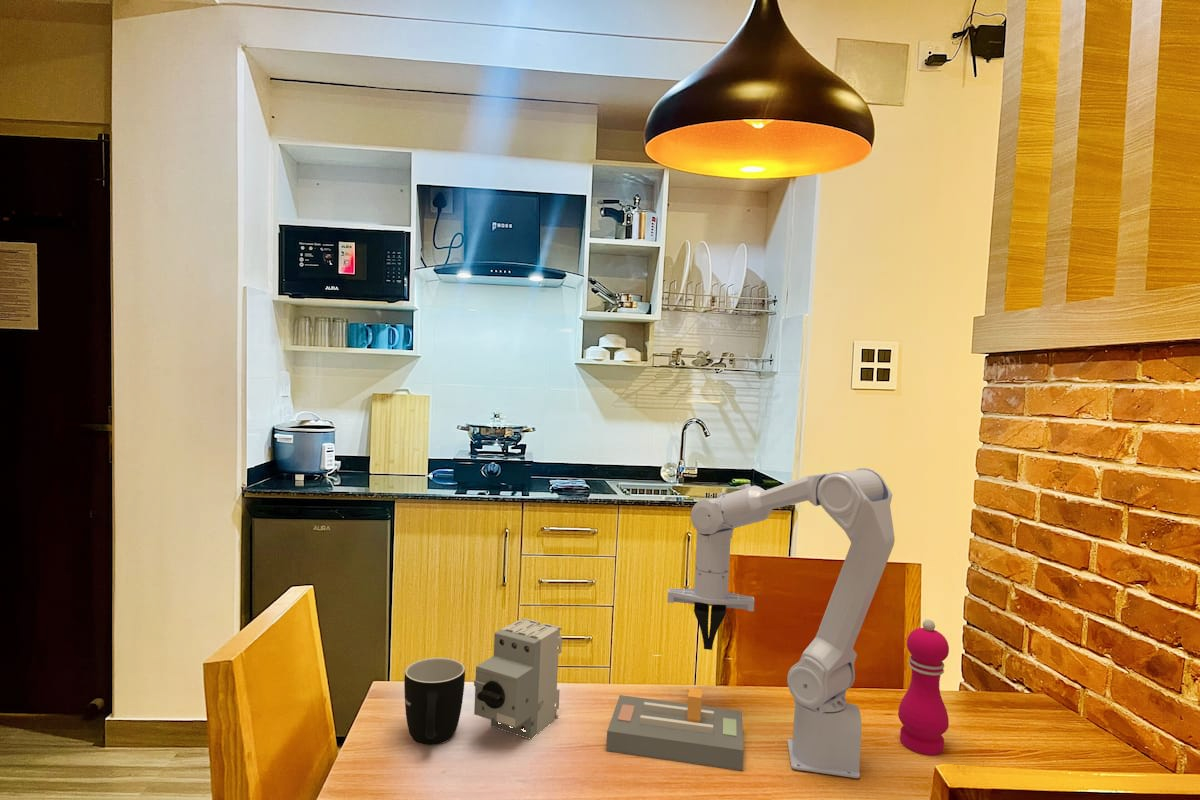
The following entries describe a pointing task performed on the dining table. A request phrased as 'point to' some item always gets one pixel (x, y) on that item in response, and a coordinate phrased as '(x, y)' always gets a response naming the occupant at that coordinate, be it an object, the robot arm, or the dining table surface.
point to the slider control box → (676, 733)
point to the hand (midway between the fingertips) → (708, 647)
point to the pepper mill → (924, 692)
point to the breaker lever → (694, 705)
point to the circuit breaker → (520, 678)
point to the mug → (433, 699)
